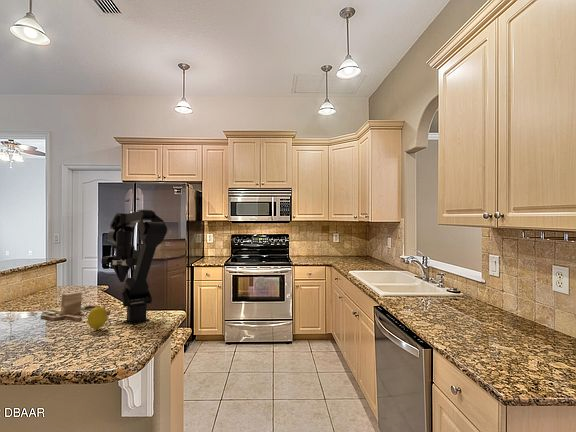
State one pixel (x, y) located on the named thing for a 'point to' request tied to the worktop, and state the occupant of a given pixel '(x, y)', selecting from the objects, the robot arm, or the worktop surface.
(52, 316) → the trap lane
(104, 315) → the lemon
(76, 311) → the oak bookend
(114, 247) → the robot arm
